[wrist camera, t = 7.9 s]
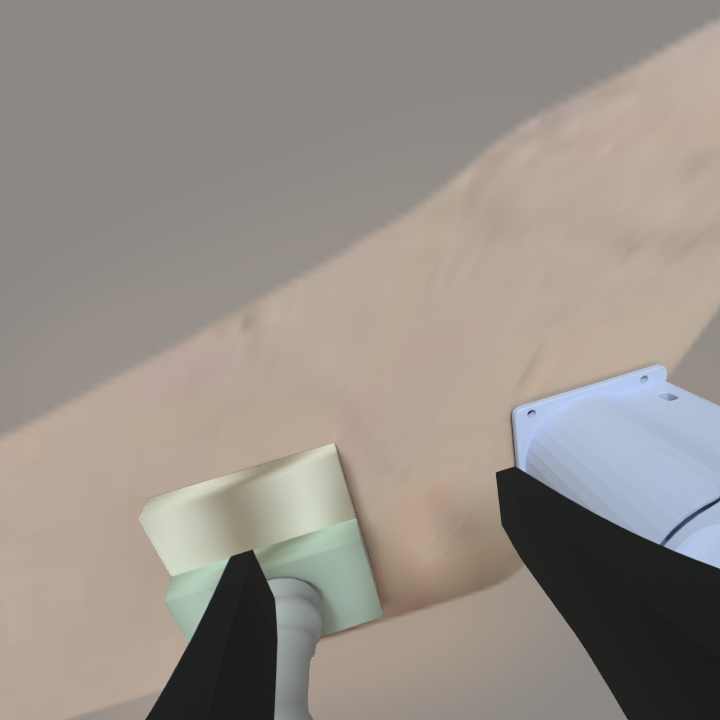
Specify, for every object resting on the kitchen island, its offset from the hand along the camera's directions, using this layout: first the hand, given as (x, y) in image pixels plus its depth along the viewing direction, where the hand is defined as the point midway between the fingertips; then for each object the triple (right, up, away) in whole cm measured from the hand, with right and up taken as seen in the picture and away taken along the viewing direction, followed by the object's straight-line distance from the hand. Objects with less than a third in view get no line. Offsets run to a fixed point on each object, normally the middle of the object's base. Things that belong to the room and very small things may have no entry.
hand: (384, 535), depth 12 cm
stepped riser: (-6, -5, +12) cm, 14 cm away
